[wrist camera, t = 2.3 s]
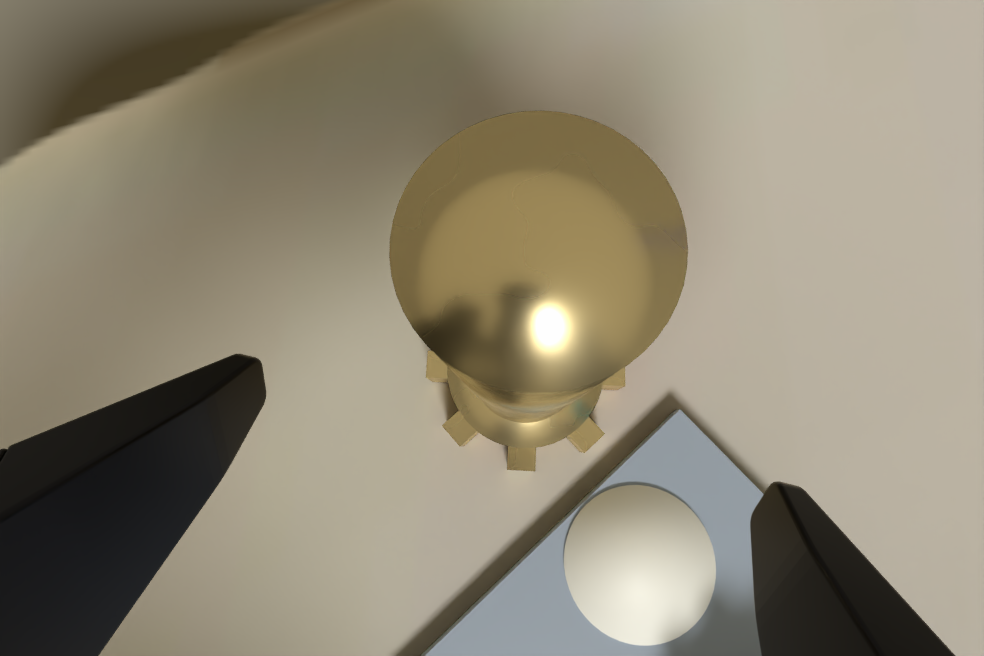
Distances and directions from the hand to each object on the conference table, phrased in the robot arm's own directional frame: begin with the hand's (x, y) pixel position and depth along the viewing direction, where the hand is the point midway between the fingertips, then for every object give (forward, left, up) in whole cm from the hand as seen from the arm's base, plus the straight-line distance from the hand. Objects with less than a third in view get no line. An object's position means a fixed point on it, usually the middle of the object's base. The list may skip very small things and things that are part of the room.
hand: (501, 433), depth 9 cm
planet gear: (+2, +1, -10) cm, 10 cm away
